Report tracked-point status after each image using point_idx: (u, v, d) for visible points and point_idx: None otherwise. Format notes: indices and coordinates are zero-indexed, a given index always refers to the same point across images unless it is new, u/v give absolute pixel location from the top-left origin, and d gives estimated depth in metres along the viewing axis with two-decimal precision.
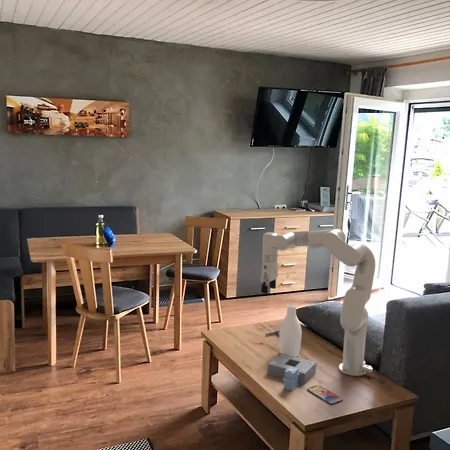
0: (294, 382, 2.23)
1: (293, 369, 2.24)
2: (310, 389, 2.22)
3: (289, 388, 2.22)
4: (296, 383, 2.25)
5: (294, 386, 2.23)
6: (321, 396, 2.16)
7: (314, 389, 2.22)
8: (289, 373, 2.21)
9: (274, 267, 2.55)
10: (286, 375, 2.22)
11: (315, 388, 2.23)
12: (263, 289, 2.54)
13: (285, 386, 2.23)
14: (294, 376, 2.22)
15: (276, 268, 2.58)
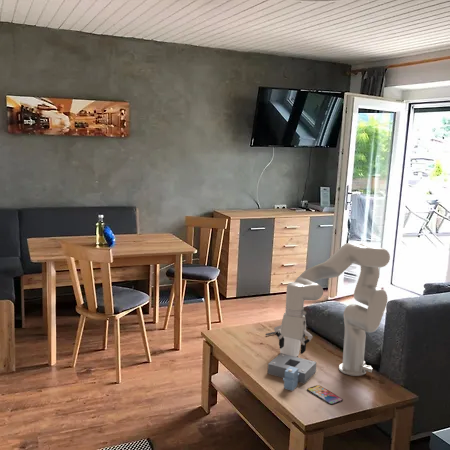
0: (294, 382, 2.23)
1: (293, 369, 2.24)
2: (310, 389, 2.22)
3: (289, 388, 2.22)
4: (296, 383, 2.25)
5: (294, 386, 2.23)
6: (321, 396, 2.16)
7: (314, 389, 2.22)
8: (289, 373, 2.21)
9: None
10: (286, 375, 2.22)
11: (315, 388, 2.23)
12: (304, 348, 2.19)
13: (285, 386, 2.23)
14: (294, 377, 2.22)
15: None
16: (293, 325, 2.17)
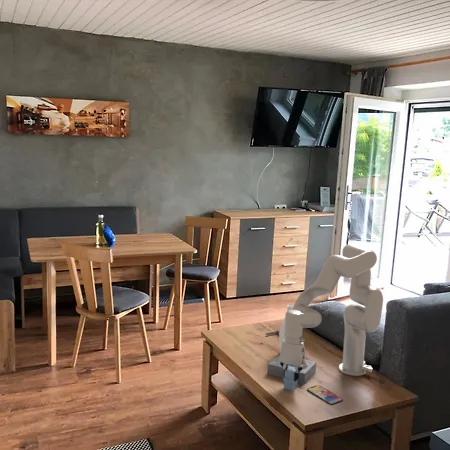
0: (294, 382, 2.23)
1: (293, 369, 2.24)
2: (310, 389, 2.22)
3: (289, 388, 2.22)
4: (296, 383, 2.25)
5: (294, 386, 2.23)
6: (321, 396, 2.16)
7: (314, 389, 2.22)
8: (289, 373, 2.21)
9: None
10: (286, 375, 2.22)
11: (315, 388, 2.23)
12: (298, 376, 2.22)
13: (285, 386, 2.23)
14: None
15: None
16: (292, 352, 2.20)
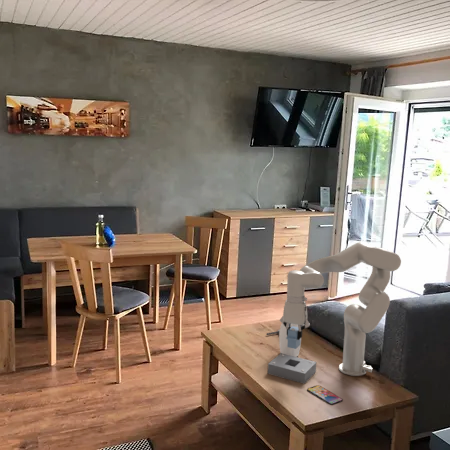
0: (297, 341, 2.29)
1: (296, 328, 2.31)
2: (310, 389, 2.22)
3: (292, 346, 2.29)
4: (299, 342, 2.32)
5: (297, 344, 2.30)
6: (321, 396, 2.16)
7: (314, 389, 2.22)
8: (292, 332, 2.28)
9: None
10: (289, 334, 2.29)
11: (315, 388, 2.23)
12: (301, 334, 2.29)
13: (288, 345, 2.30)
14: None
15: None
16: (295, 311, 2.26)
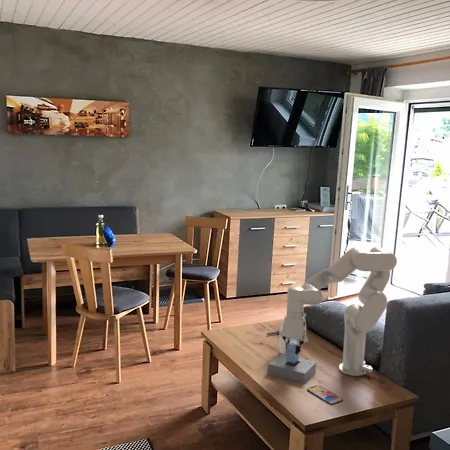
0: (296, 355, 2.35)
1: (295, 343, 2.36)
2: (310, 389, 2.22)
3: (291, 360, 2.35)
4: (297, 356, 2.37)
5: (296, 359, 2.36)
6: (321, 396, 2.16)
7: (314, 389, 2.22)
8: (291, 346, 2.34)
9: None
10: (288, 348, 2.35)
11: (315, 388, 2.23)
12: (299, 349, 2.35)
13: (287, 359, 2.36)
14: None
15: None
16: (294, 326, 2.32)
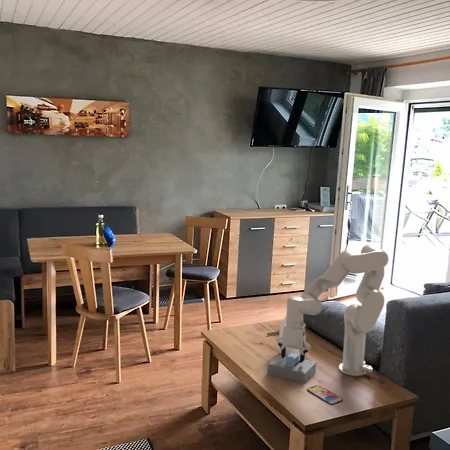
0: None
1: (294, 355, 2.37)
2: (310, 389, 2.22)
3: None
4: None
5: None
6: (321, 396, 2.16)
7: (314, 389, 2.22)
8: (290, 359, 2.35)
9: None
10: (288, 361, 2.36)
11: (315, 388, 2.23)
12: (303, 358, 2.34)
13: None
14: (295, 362, 2.35)
15: None
16: (293, 336, 2.33)
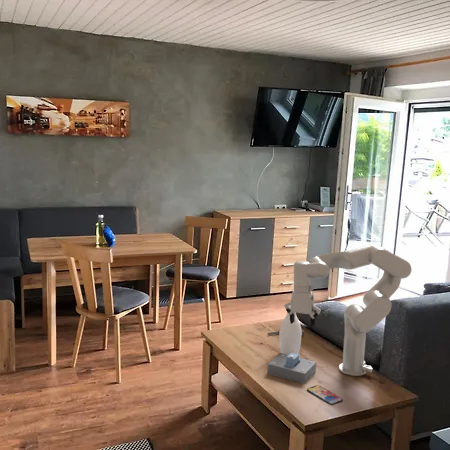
0: None
1: (294, 355, 2.37)
2: (310, 389, 2.22)
3: None
4: None
5: None
6: (321, 397, 2.16)
7: (314, 389, 2.22)
8: (290, 359, 2.35)
9: None
10: (288, 361, 2.36)
11: (315, 388, 2.23)
12: (314, 322, 2.33)
13: None
14: (295, 362, 2.35)
15: None
16: (302, 301, 2.31)
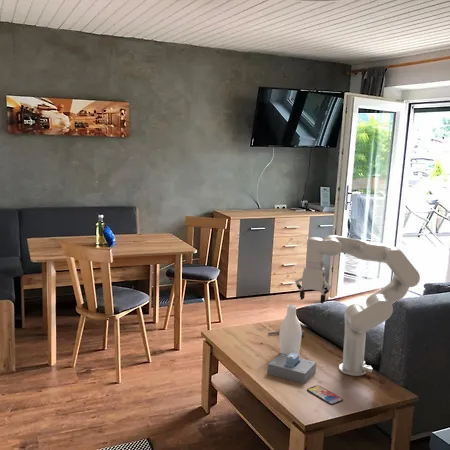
0: None
1: (294, 355, 2.37)
2: (310, 389, 2.22)
3: None
4: None
5: None
6: (321, 396, 2.16)
7: (314, 389, 2.22)
8: (290, 359, 2.35)
9: None
10: (288, 361, 2.36)
11: (314, 388, 2.23)
12: (324, 298, 2.34)
13: None
14: (295, 362, 2.35)
15: None
16: (313, 277, 2.33)
